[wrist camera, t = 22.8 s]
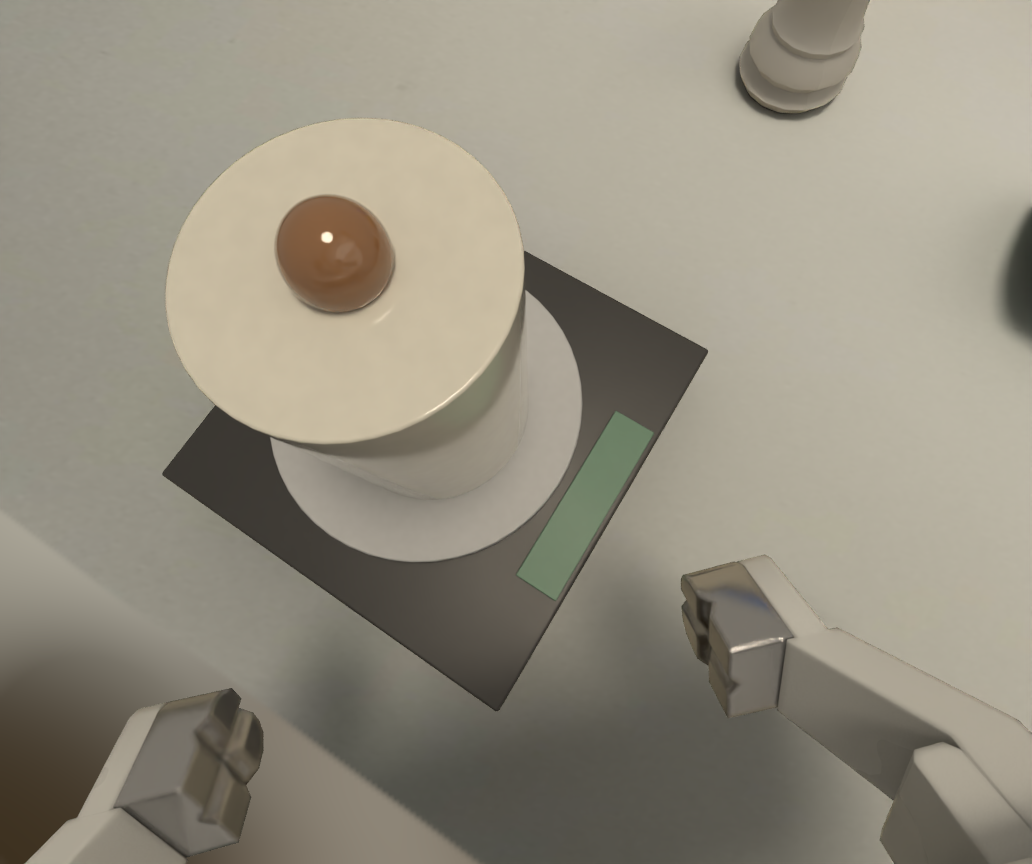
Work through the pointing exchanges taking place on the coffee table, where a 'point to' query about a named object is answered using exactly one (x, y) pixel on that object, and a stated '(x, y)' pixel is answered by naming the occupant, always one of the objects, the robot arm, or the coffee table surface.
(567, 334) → the scale
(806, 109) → the rook chess piece
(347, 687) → the coffee table surface
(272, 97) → the coffee table surface
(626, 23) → the coffee table surface
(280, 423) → the canister
